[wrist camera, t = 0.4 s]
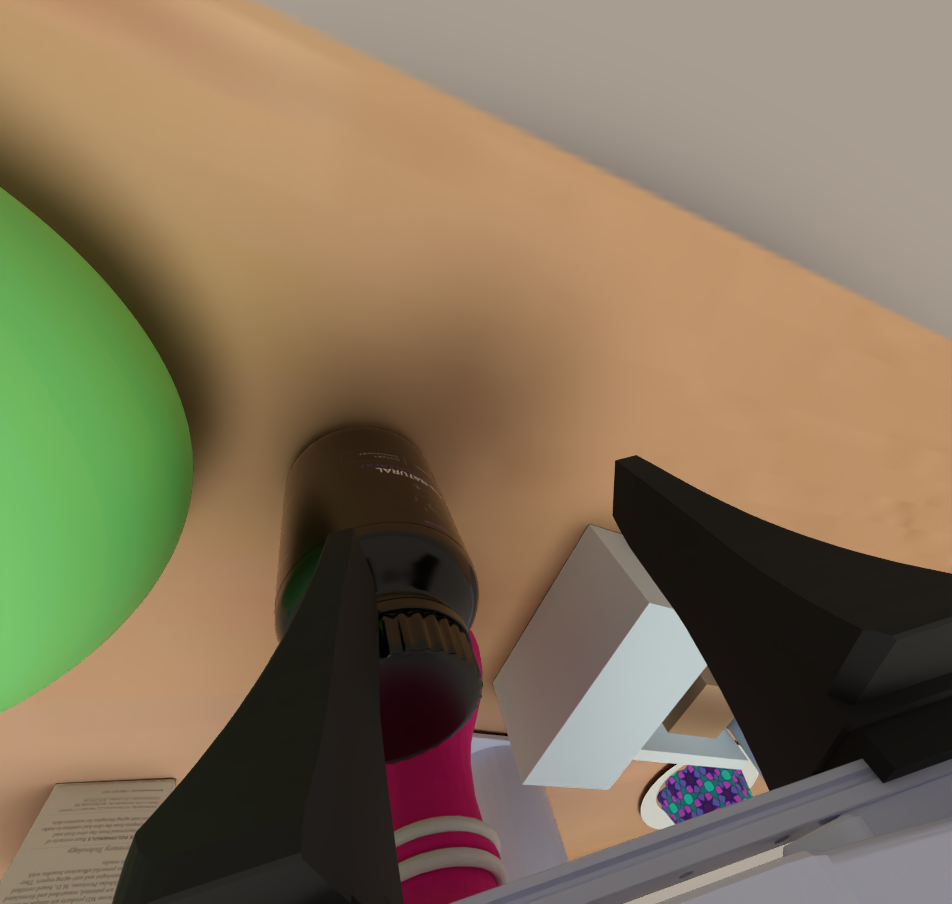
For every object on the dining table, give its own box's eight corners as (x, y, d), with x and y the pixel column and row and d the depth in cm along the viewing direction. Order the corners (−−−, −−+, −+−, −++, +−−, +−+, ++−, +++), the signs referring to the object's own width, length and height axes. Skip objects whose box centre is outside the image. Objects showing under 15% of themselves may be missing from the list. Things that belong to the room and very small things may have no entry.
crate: (677, 683, 33) (716, 738, 29) (633, 675, 31) (667, 732, 28) (710, 640, 31) (755, 693, 28) (666, 630, 30) (707, 684, 26)
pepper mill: (473, 557, 27) (692, 1196, 9) (452, 653, 30) (589, 1281, 12) (340, 555, 25) (295, 1361, 7) (331, 657, 28) (283, 1418, 10)
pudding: (666, 835, 47) (699, 901, 42) (614, 792, 42) (646, 863, 37) (769, 770, 46) (815, 831, 41) (731, 717, 41) (779, 780, 36)
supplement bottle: (426, 413, 22) (530, 594, 12) (430, 529, 26) (515, 748, 16) (269, 430, 20) (241, 662, 10) (294, 554, 24) (292, 822, 14)
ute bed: (692, 724, 39) (749, 810, 33) (484, 696, 32) (511, 799, 26) (813, 576, 34) (905, 647, 28) (600, 505, 27) (664, 581, 21)
